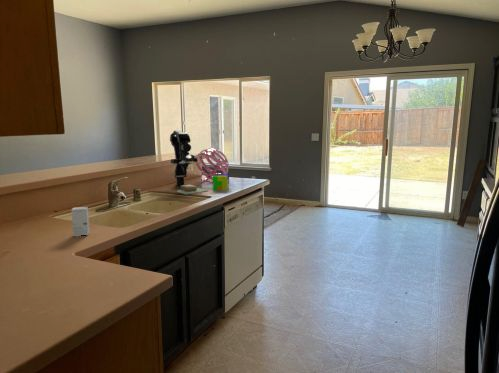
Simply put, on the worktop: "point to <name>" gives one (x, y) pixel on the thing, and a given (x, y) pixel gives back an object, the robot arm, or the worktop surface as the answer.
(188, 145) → the robot arm
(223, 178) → the puzzle toy
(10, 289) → the worktop surface
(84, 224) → the skincare box
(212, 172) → the spiral basket
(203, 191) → the mat
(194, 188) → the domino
